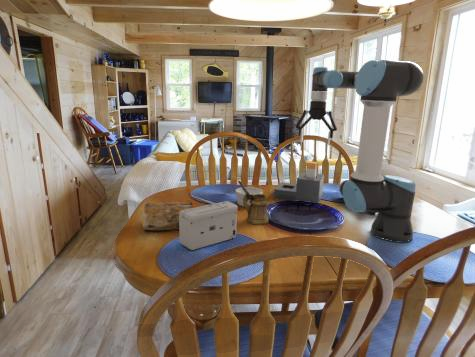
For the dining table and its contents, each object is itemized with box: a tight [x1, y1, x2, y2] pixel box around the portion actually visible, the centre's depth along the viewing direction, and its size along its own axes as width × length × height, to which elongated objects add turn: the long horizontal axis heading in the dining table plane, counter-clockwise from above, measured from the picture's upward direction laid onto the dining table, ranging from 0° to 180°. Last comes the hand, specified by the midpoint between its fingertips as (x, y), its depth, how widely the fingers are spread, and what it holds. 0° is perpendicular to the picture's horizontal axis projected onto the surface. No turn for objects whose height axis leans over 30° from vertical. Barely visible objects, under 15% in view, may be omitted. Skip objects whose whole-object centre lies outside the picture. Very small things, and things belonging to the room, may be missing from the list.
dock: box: [273, 171, 325, 203], centre depth 175 cm, size 16×23×12 cm
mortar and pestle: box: [237, 180, 269, 226], centre depth 139 cm, size 9×14×18 cm, turn 93°
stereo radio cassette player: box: [178, 194, 238, 251], centre depth 118 cm, size 21×8×20 cm, turn 127°
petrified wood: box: [142, 201, 194, 231], centre depth 132 cm, size 19×13×10 cm
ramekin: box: [235, 186, 264, 208], centre depth 163 cm, size 13×13×7 cm
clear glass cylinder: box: [305, 160, 318, 178], centre depth 171 cm, size 4×4×10 cm
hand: (314, 143), depth 167 cm, fingers open, 13 cm apart
